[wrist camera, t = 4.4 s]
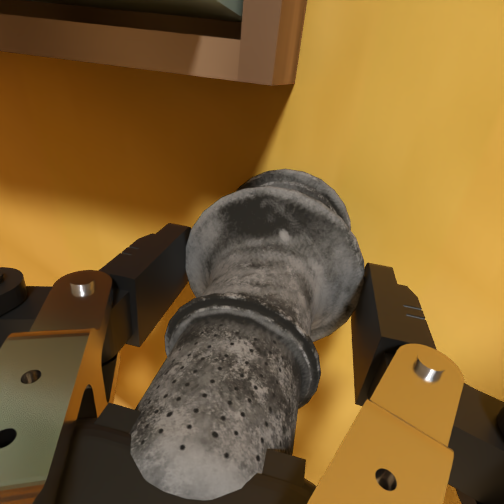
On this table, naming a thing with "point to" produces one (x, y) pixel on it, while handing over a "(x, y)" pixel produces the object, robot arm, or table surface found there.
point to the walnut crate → (162, 39)
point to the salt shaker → (247, 333)
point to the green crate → (168, 7)
